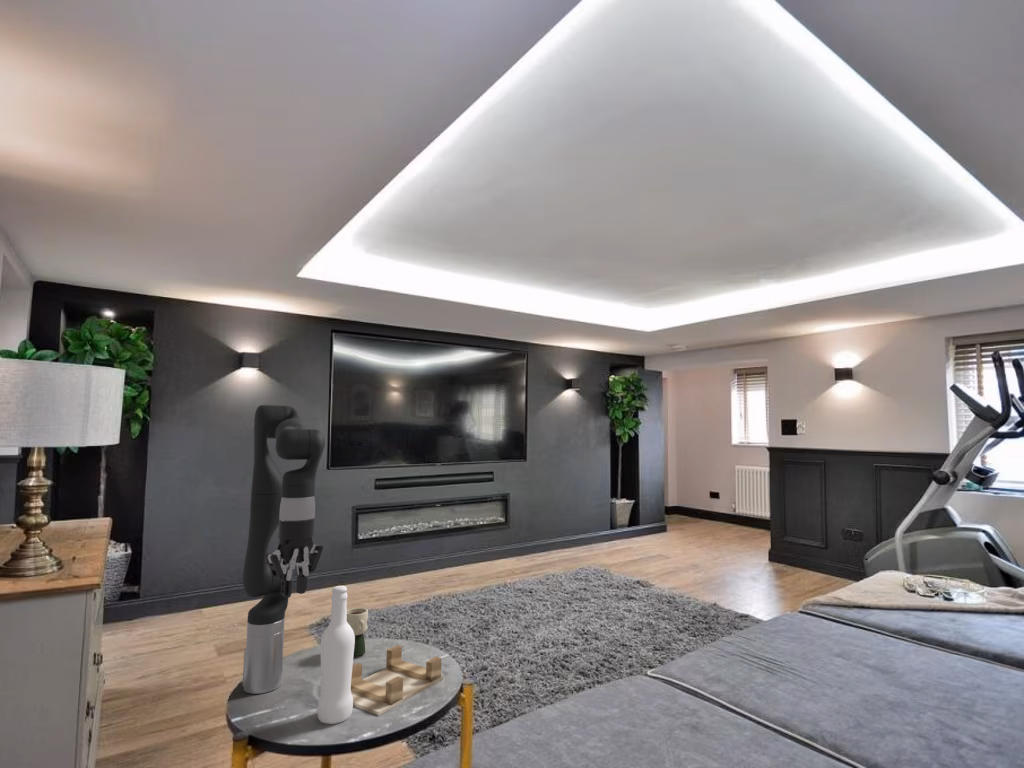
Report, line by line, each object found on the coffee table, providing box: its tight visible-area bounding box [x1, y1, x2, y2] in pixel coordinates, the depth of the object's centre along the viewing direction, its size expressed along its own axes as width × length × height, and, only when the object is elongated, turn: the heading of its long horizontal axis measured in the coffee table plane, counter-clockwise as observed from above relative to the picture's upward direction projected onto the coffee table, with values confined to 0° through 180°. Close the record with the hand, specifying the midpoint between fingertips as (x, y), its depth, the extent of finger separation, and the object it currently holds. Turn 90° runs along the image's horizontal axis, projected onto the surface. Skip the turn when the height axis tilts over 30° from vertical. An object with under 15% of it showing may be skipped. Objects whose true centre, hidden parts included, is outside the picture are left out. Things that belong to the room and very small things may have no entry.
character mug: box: [347, 607, 369, 657], centre depth 165 cm, size 11×7×13 cm, turn 39°
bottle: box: [316, 585, 355, 725], centre depth 129 cm, size 8×8×30 cm
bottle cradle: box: [351, 645, 444, 717], centre depth 143 cm, size 17×24×6 cm
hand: (293, 594), depth 120 cm, fingers open, 3 cm apart
